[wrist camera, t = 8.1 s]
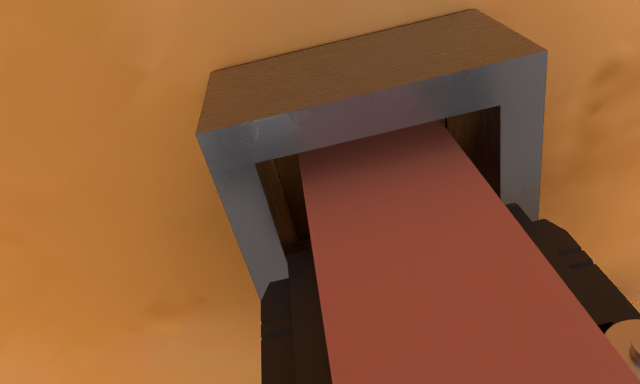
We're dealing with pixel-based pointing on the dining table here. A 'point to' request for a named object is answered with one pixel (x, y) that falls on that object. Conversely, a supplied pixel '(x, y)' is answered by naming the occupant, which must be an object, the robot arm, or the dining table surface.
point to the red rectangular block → (437, 273)
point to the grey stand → (372, 117)
